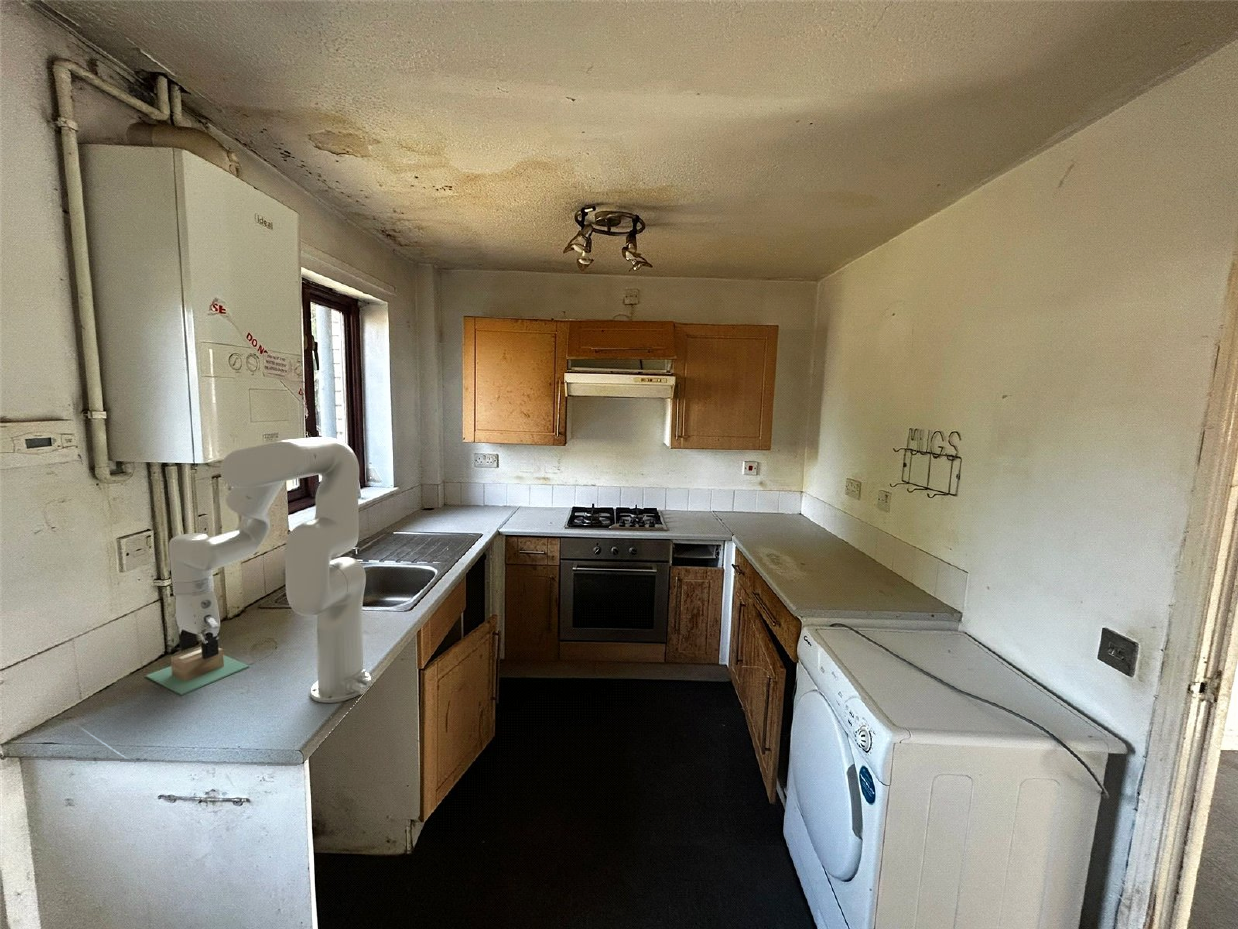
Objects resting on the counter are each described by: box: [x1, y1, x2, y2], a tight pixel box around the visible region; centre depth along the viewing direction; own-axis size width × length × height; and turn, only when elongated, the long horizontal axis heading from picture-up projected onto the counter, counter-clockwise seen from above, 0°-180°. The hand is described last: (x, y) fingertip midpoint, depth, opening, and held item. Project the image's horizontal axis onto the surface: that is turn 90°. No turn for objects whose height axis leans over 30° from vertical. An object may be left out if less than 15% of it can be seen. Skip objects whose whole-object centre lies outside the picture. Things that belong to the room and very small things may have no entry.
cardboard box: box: [170, 646, 224, 681], centre depth 123 cm, size 8×6×5 cm
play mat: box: [145, 654, 250, 696], centre depth 123 cm, size 16×14×1 cm
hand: (199, 652), depth 123 cm, fingers open, 9 cm apart
